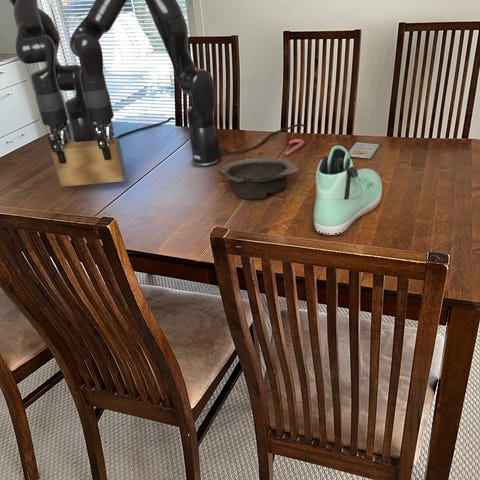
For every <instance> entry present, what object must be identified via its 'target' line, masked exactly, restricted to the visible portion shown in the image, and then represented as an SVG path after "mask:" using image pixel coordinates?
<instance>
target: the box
mask: <svg viewBox="0 0 480 480" xmlns="http://www.w3.org/2000/svg"><path fill="white" fill-rule="evenodd" d="M102 143H103V145H105V144H104V142H102ZM57 148H58V146H57ZM63 148H64V153H65V157H66V161H67V162H66V163H59V160H58V157H57V153H56V152H55V153H53V151H52V149H51V150H50V153H51V156H52V160H53V164H54V168H55V170H56V173H57V177H58V181H59V184H60V187H63V188H64V187H72V186H73V187H74V186H82V185H83V186H85V185H93V184H94V185H95V184H96V185H97V184H105V183H116V182H117V183H119V182H124V181H125V178H126V175H127V171H126V166H125V162H124V157H123V152H122V148H121V142H120V138H117V139H110V140H109V149H110V153H111V159H110V160H105V159H104V156H103V152H102V149H99V146H98V142H97V140H95V141H84V142H75V141H73V142H70V143H64V144H63Z"/></svg>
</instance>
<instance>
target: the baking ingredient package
mask: <svg viewBox="0 0 480 480" xmlns="http://www.w3.org/2000/svg"><path fill="white" fill-rule="evenodd" d="M379 147H380V144H377V143H369V142H357V141H356V142H355V143H354V144H353V146H352V147H351V148H350V149H349V151H347V152H348V153H349V156H350V157H352V158H361V159H371V158H372V157H373V156H374V154H375V152H376V150H377V149H378V148H379Z"/></svg>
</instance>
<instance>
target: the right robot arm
mask: <svg viewBox="0 0 480 480" xmlns="http://www.w3.org/2000/svg"><path fill="white" fill-rule="evenodd" d="M127 1H128V0H94V2H93V3H92V5H91V7H90V9H89V11H88V13H87V15H86V16H85V17H84V19H83V20H82V21H81V22H80V23H79V25H78V26H77V27H76V29H74V31H73V33H72V35H71V36H70V39H69V48H70V50H71V52H72V53H73V55H74V56H76V57H78V60H79V66H81V71H80V73H79V74H80V81H81V85H82V89H83V95H84V101H85V105H86V109H87V113H88V117H89V120H90V121H92V122H94V123H95V124H96V125H97V127H96V131H95V135H96V139H97V142H98V146H99V149H102V152H103V156H104V159H105V160H110V159H111V153H110V149H109V140H110V139H114V138H115V137H114V136H115V133H114V127H113V122H112V119H113V118H114V116H115V115H114V110H113V106H112V101H111V97H110V92H109V90H108V85H107V82H106V77H105V74H104V57H103V50H102V45H101V43H100V40H101V38H102V36H103V35H104V34H106V33H108V32H109V31H110V30H111V29H112V27H113V25H114V23H115V22H116V20H117V18H118V17H119V15H120V13H121V11H122V9H123V8H124V6H125V5H126V3H127ZM144 2H145V4H146V7H147V9H148V12H149V13H150V16H151V18H152V21H153V23H154V25H155V28H156V30H157V32H158V35H159V36H160V39H161V41H162V43H163V45H164V48H165V51H166V53H167V55H168V57H169V59H170V62H171V64H172V68H173V71H174V74H175V77H176V81H177V83H178V86H179V88H180V90H181V91H182V92H183V94H186V95H187V96H190V97H191V106H189V107H188V108H187V109H186V116H187V124H188V131H189V132H188V133H189V139H190V148H191V155H192V164H193V165H194V166H196V167H211V166H214V165H216V164H217V163H218V162H220V161H221V155H223V154H224V152H225V153H226V154H228V155H234V154H241V153H246V152H248V151H252V150H254V149H256V148H258V147H260V146H261V145H263V144H264V143H266V142H267V141H268V139H270V138H271V137H273V136H274V135H276V134H278V133H281V132H285V131H287V130H290V129H294V128H295V127H303V128H307V126H306V124H303V123H297V124H294V125H291V126H289V127H285V128H282V129H278V130H276V131H274V132H272V133H270V134H268V135H267V136H266V138H264V139H263V140H262V141H261V142H259V143H257V144H256V145H254V146H252V147H249V148H245V149H242V150H238V151H228V149H227V148H225V147H222V146H220V142H219V141H220V140H219V135H217V133H216V125H215V124H216V123H215V115H214V110H215V108H216V107H215V106H216V96H215V84H214V83H215V82H214V79H213V78H214V77H213V76H212V74H211V73H210V72H209V71H208V70H206V69H203V68H197V66H196V65H195V63H194V61H193V59H192V56H191V54H190V50H189V29H188V24H187V22H186V19H185V16H184V14H183V10H182V9H181V7H180V4H179V3H178V1H177V0H144ZM102 142H104V144H105V145H103V143H102Z"/></svg>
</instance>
